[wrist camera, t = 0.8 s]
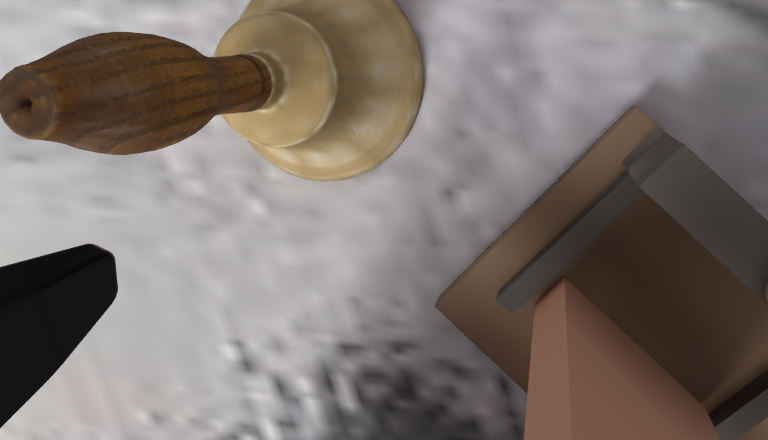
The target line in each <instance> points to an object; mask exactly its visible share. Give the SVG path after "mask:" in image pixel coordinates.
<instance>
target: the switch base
mask: <svg viewBox="0 0 768 440" xmlns="http://www.w3.org/2000/svg"><path fill="white" fill-rule="evenodd" d="M563 276H565V277H566V278H567V279H568V280H569V281H570V282H571V283H572V284H573V285H574V286H575V287H577V288H578V289H579V290H580V291H581V292H582V293H583V294H584V295H585V296H586V297H587V298H588V299H589V300H590V301H592V302H593V303H594V304H595V305H596V306H597V307H598V308H599V309H600V310H601V311H602V312H603V313H604V314H606V315H607V316H608V317H609V318H610V319H611V320H612V321H613V322H614V323H615V324H616V325H617V326H618V327H619V328H621V329H622V330H623V331H624V332H625V333H626V334H627V335H628V336H629V337H630V338H631V339H632V340H633V341H634V342H636V343H637V344H638V345H639V346H640V347H641V348H642V349H643V350H644V351H645V352H646V353H647V354H648V355H649V356H651V357H652V358H653V359H654V360H655V361H656V362H657V363H658V364H659V365H660V366H661V367H662V368H663V369H665V370H666V371H667V372H668V373H669V374H670V375H671V376H672V377H673V378H674V379H675V380H676V381H677V382H678V383H680V384H681V385H682V386H683V387H684V388H685V389H686V390H687V391H688V392H689V393H690V394H691V395H692V396H693V397H695V398H696V399H697V400H698V401H699V402H700V403H701V404H702V405H703V406H704V407H705V408H706V410H707V412H708V415H709V417H710V419H711V421H712V423H713V426H714V428H715V430H716V432H717V435H718V437H719V439H720V440H768V221H767V220H766V219H765V218H764V217H763V216H762V215H760V214H759V213H758V212H757V211H756V210H755V209H754V208H753V207H752V206H751V205H750V204H748V203H747V202H746V201H745V200H744V199H743V198H742V197H741V196H740V195H739V194H738V193H736V192H735V191H734V190H733V189H732V188H731V187H730V186H729V185H728V184H727V183H726V182H724V181H723V180H722V179H721V178H720V177H719V176H718V175H717V174H716V173H715V172H714V171H712V170H711V169H710V168H709V167H708V166H707V165H706V164H705V163H704V162H703V161H702V160H700V159H699V158H698V157H697V156H696V155H695V154H694V153H693V152H692V151H691V150H690V149H688V148H687V147H686V146H685V145H684V144H682V143H681V142H679V141H677V140H675V139H674V138H672V137H670V136H669V135H668V134H667V133H666V132H664V131H663V130H662V129H661V128H660V127H659V126H658V125H657V124H656V123H655V122H654V121H652V120H651V119H650V118H649V117H648V116H647V115H646V114H645V113H644V112H643V111H642V110H640V109H639V108H638V107H637V106H635V105H633V106H632V107H631V108H630V109H629V110H628V111H627V112H626V113H625V114H624V115H623V116H622V117H621V118H620V119H619V120H618V121H617V122H616V123H615V124H614V125H613V126H612V127H611V128H610V129H609V130H608V131H607V132H606V133H605V134H604V135H603V136H602V137H601V138H600V139H599V140H598V141H597V142H596V143H595V144H594V145H593V146H591V147H590V148H589V149H588V150H587V151H586V152H585V153H584V154H583V155H582V156H581V157H580V158H579V159H578V160H577V161H576V162H575V163H574V164H573V165H572V166H571V167H570V168H569V169H568V170H567V171H566V172H565V173H564V174H563V175H562V176H561V177H560V178H559V179H558V180H557V181H556V182H555V183H554V184H553V185H552V186H551V187H550V188H549V189H548V190H547V191H546V192H545V193H544V194H543V195H542V196H541V197H540V198H539V199H538V200H537V201H536V202H535V203H534V204H533V205H532V206H531V207H530V208H529V209H528V210H527V211H526V212H525V213H524V214H523V215H522V216H520V217H519V218H518V219H517V220H516V221H515V222H514V223H513V224H512V225H511V226H510V227H509V228H508V229H507V230H506V231H505V232H504V233H503V234H502V235H501V236H500V237H499V238H498V239H497V240H496V241H495V242H494V243H493V244H492V245H491V246H490V247H489V248H488V249H487V250H486V251H485V252H484V253H483V254H482V255H481V256H480V257H479V258H478V259H477V260H476V261H475V262H474V263H473V264H472V265H471V266H470V267H469V268H468V269H467V270H466V271H465V272H464V273H463V274H462V275H461V276H460V277H459V278H458V279H457V280H456V281H455V282H454V283H453V284H452V285H451V286H449V287H448V288H447V289H446V290H445V291H444V292H443V293H442V294H441V295H440V296H439V298H438V300H437V302H436V304H435V307H436V308H437V309H438V310H439V311H440V312H441V313H442V314H444V315H445V316H446V317H447V318H448V319H449V320H450V321H451V322H452V323H453V324H454V325H455V326H456V327H457V328H458V329H459V330H461V331H462V332H463V333H464V334H465V335H466V336H467V337H468V338H469V339H470V340H471V341H472V342H473V343H474V344H475V345H476V346H478V347H479V348H480V349H481V350H482V351H483V352H484V353H485V354H486V355H487V356H488V357H489V358H490V359H491V360H492V361H493V362H494V363H496V364H497V365H498V366H499V367H500V368H501V369H502V370H503V371H504V372H505V373H506V374H507V375H508V376H509V377H510V378H511V379H513V380H514V381H515V382H516V383H517V384H518V385H519V386H520V387H521V388H522V389H523V390H524V391H525V392H526V393H527V394H528V381H529V369H530V357H531V345H532V333H533V320H534V308H535V302H536V301H537V300H538V299H539V298H540V297H542V296H543V295H544V294H545V293H546V292H547V291H548V290H549V289H550V288H551V287H552V286H554V285H555V284H556V283H557V282H558V281H559V280H560V279H561V278H562V277H563Z"/></svg>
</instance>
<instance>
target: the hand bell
mask: <svg viewBox="0 0 768 440" xmlns="http://www.w3.org/2000/svg"><path fill="white" fill-rule="evenodd" d="M422 91H423V63H422V58H421V52H420V48H419V44H418V42H417V39H416V36H415V33H414V31H413V29H412V27H411V25H410V23H409V21H408V19H407V18H406V16H405V15H404V13H403V12H402V10H401V9H400V8H399V6H398V5H397V4H396V3H395V2H394V1H393V0H252V1H251V2H250V4H249V5H248V6H247V8H246V9H245V10H244V12H243V14H242V15H241V17H240V19H239V20H238V21H237V22H236V23H235V24H234V25H233V26H232V27H230V28H229V29H228V31H227V32H226V33H225V34H224V36H223V37H222V39H221V40H220V42H219V44H218V46H217V48H216V50H215V53H214V56H213V57H206V56H204V55H202V54H201V53H200V52H198V51H197V50H195V49H194V48H192V47H190V46H188V45H186V44H184V43H181V42H178V41H175V40H172V39H168V38H165V37H161V36H157V35H153V34H143V33H132V32H111V33H100V34H96V35H92V36H88V37H85V38H82V39H79V40H76V41H74V42H72V43H69V44H67V45H65V46H63V47H61V48H59V49H57V50H56V51H54V52H52V53H50V54H48V55H47V56H45V57H43V58H40V59H38V60H36V61H34V62H31V63H29V64H25V65H21V66H18V67H15V68H14V69H13V70H11V71H10V72H9V73H7V74H6V75H5V76H4V77H3V78H2V79H1V80H0V114H1V116H2V118H3V120H4V122H5V123H6V124H7V126H8V127H9V128H10V129H11V130H12V131H13V132H14V133H16V134H18V135H20V136H23V137H25V138H27V139H34V140H46V141H53V142H58V143H63V144H67V145H69V146H72V147H75V148H78V149H83V150H87V151H92V152H97V153H104V154H112V155H128V154H136V153H143V152H148V151H154V150H158V149H161V148H164V147H167V146H170V145H173V144H176V143H178V142H181V141H182V140H184V139H186V138H188V137H190V136H191V135H193V134H195V133H196V132H198V131H199V130H200V129H201V128H203V127H204V126H205V125H206V124H207V123H208V122H209V121H210V120H211V119H212V118H213V117H214V116H216V115H219V114H221V115H222V116H223V118H224V119H225V121H226V122H227V123H228V125H229V126H230V127H231V128H232V129H233V130H234V131H236V132H237V133H238V134H239V135H241V136H242V137H244V138H245V139H247V140H248V141H249V143H250V144H251V145H252V146H253V147H254V148H255V149H256V150H257V152H259V153H260V154H261V155H262V156H263V157H264V158H265V159H266V160H268V161H269V162H270V163H272V164H273V165H275V166H277V167H278V168H280V169H282V170H284V171H285V172H288V173H290V174H292V175H295V176H298V177H301V178H304V179H309V180H315V181H338V180H345V179H349V178H353V177H356V176H359V175H361V174H364V173H366V172H368V171H370V170H372V169H373V168H375V167H376V166H378V165H379V164H381V163H382V162H383V161H385V160H386V159H387V158H388V157H389V156H391V155H392V154H393V153H394V152H395V151H396V150H397V148H398V147H399V146H400V145H401V143H402V142H403V141H404V139H405V138H406V137H407V136H408V134H409V132H410V130H411V128H412V126H413V123H414V121H415V118H416V116H417V113H418V110H419V106H420V102H421V97H422Z"/></svg>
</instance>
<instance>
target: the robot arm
mask: <svg viewBox="0 0 768 440" xmlns="http://www.w3.org/2000/svg"><path fill="white" fill-rule="evenodd" d="M117 291H118V283H117V273H116V263H115V257H114V255H113V254H112V253H111V252H110V251H107V250H105V249H103V248H101V247H99V246H97V245H94V244H85V245H81V246H77V247H73V248H70V249H66V250H62V251H58V252H55V253H51V254H47V255H43V256H40V257H36V258H32V259H29V260H25V261H21V262H17V263H14V264H10V265H6V266H2V267H0V428H1V427H2V426H3V425H4V424H5V423H6V422H7V421H8V420H9V419H10V418H11V417H12V416H13V415H14V414H15V413H16V412H17V411H18V410H19V409H20V408H21V407H22V406H23V405H24V404H25V403H26V402H27V401H28V400H29V399H30V398H31V397H32V396H33V395H34V394H35V393H36V392H37V391H38V390H39V389H40V388H41V387H42V386H43V385H44V384H45V383H46V382H47V381H48V380H49V378H50V377H51V376H52V375H53V374H54V373H55V372H56V371H57V370H58V369H59V367H60V366H61V365H62V364H63V363H64V362H65V360H66V359H67V358H68V357H69V356H70V354H71V353H72V352H73V351H74V349H75V348H76V347H77V346H78V345H79V343H80V342H81V341H82V340H83V338H84V337H85V336H86V335H87V333H88V332H89V331H90V330H91V329H92V327H93V326H94V325H95V324H96V322H97V321H98V320H99V319H100V318H101V316H102V315H103V314H104V313H105V311H106V310H107V309H108V308H109V307H110V305H111V304H112V303H113V301H114V299H115V298H116V295H117Z"/></svg>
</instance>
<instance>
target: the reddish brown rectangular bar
mask: <svg viewBox="0 0 768 440" xmlns="http://www.w3.org/2000/svg"><path fill="white" fill-rule="evenodd" d="M524 440H720V439H719V437H718V435H717V432H716V430H715V428H714V426H713V423H712V421H711V419H710V417H709V415H708V412H707V410H706V408H705V407H704V406H703V405H702V404H701V403H700V402H699V401H698V400H697V399H696V398H695V397H693V396H692V395H691V394H690V393H689V392H688V391H687V390H686V389H685V388H684V387H683V386H682V385H681V384H680V383H678V382H677V381H676V380H675V379H674V378H673V377H672V376H671V375H670V374H669V373H668V372H667V371H666V370H665V369H663V368H662V367H661V366H660V365H659V364H658V363H657V362H656V361H655V360H654V359H653V358H652V357H651V356H649V355H648V354H647V353H646V352H645V351H644V350H643V349H642V348H641V347H640V346H639V345H638V344H637V343H636V342H634V341H633V340H632V339H631V338H630V337H629V336H628V335H627V334H626V333H625V332H624V331H623V330H622V329H621V328H619V327H618V326H617V325H616V324H615V323H614V322H613V321H612V320H611V319H610V318H609V317H608V316H607V315H606V314H604V313H603V312H602V311H601V310H600V309H599V308H598V307H597V306H596V305H595V304H594V303H593V302H592V301H590V300H589V299H588V298H587V297H586V296H585V295H584V294H583V293H582V292H581V291H580V290H579V289H578V288H577V287H575V286H574V285H573V284H572V283H571V282H570V281H569V280H568V279H567V278H566V277H565V276H563V277H562V278H561V279H560V280H559V281H558V282H557V283H556V284H555V285H554V286H552V287H551V288H550V289H549V290H548V291H547V292H546V293H545V294H544V295H543V296H542V297H540V298H539V299H538V300H537V301H536V302H535V308H534V320H533V333H532V345H531V357H530V369H529V381H528V394H527V406H526V418H525V430H524Z"/></svg>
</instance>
